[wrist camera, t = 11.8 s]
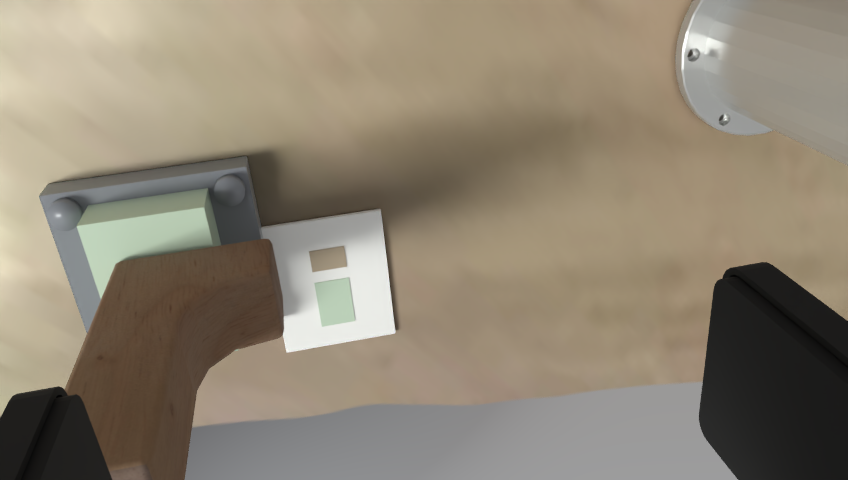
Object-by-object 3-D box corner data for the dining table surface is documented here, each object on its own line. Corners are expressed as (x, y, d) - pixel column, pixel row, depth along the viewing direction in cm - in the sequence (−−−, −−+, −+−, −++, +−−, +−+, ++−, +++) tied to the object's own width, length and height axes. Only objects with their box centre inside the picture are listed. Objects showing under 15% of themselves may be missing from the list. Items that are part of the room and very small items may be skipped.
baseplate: (246, 156, 46) (244, 184, 41) (279, 315, 51) (280, 356, 47) (48, 183, 44) (23, 216, 40) (103, 345, 49) (87, 390, 45)
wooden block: (271, 234, 43) (273, 439, 27) (283, 299, 45) (292, 524, 29) (114, 259, 42) (19, 488, 26) (134, 324, 44) (58, 574, 28)
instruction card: (380, 208, 49) (381, 210, 49) (394, 331, 53) (395, 333, 53) (261, 226, 48) (261, 229, 48) (286, 350, 52) (286, 353, 52)
